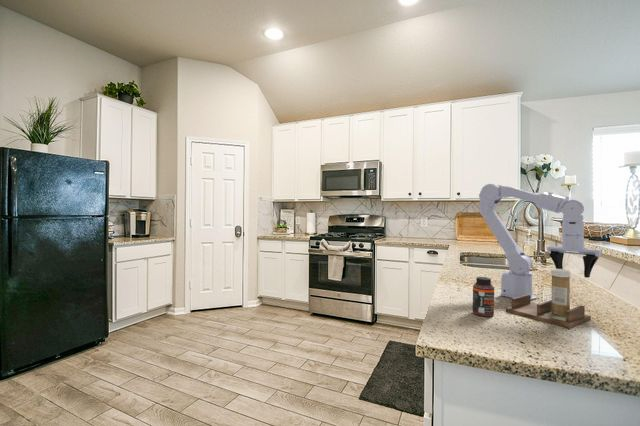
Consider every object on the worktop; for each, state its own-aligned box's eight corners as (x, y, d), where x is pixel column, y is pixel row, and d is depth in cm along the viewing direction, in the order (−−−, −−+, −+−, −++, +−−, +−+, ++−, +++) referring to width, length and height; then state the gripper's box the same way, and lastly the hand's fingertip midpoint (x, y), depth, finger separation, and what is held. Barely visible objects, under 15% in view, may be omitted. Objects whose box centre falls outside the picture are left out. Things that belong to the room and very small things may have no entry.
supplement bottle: (486, 318, 92) (486, 280, 92) (468, 312, 98) (468, 277, 98) (498, 315, 95) (498, 278, 95) (480, 310, 100) (480, 275, 100)
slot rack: (505, 311, 99) (505, 298, 99) (528, 304, 106) (528, 292, 106) (569, 328, 85) (569, 313, 85) (590, 319, 92) (590, 305, 92)
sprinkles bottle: (573, 315, 92) (573, 270, 92) (565, 317, 90) (565, 271, 90) (556, 311, 96) (556, 267, 96) (547, 313, 94) (547, 268, 94)
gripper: (605, 236, 101) (605, 277, 101) (553, 233, 113) (554, 270, 113) (596, 237, 97) (596, 280, 97) (544, 234, 110) (544, 272, 110)
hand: (573, 275), depth 105 cm, fingers open, 7 cm apart
